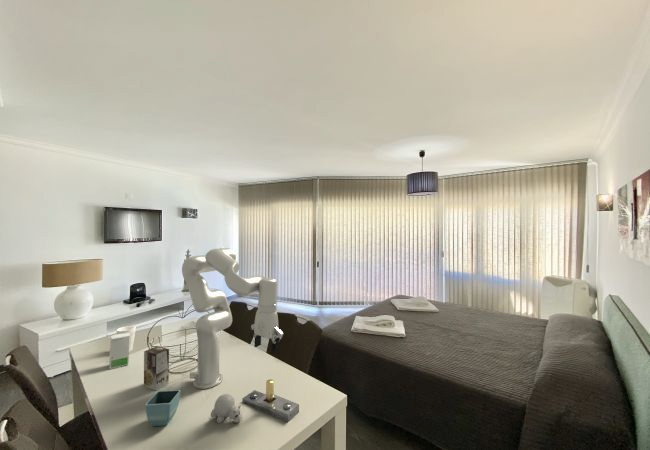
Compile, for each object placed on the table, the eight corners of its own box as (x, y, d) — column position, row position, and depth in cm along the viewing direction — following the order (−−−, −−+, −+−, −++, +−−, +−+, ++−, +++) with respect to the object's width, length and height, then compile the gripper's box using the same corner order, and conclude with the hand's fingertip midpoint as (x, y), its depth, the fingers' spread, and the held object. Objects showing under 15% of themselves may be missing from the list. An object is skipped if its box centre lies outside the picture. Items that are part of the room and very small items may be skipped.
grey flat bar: (242, 401, 113) (242, 393, 113) (254, 393, 119) (254, 385, 119) (287, 422, 100) (287, 412, 101) (299, 411, 106) (299, 402, 107)
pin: (270, 409, 108) (270, 384, 108) (264, 407, 109) (264, 382, 109) (275, 405, 110) (275, 380, 111) (269, 403, 112) (269, 378, 112)
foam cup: (137, 350, 163) (137, 328, 164) (118, 355, 156) (118, 332, 157) (132, 345, 169) (133, 324, 170) (114, 350, 162) (115, 328, 163)
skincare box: (109, 369, 139) (110, 339, 140) (109, 364, 145) (109, 335, 145) (129, 364, 145) (130, 335, 145) (128, 360, 150) (129, 331, 150)
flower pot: (157, 414, 105) (157, 390, 105) (180, 412, 106) (181, 389, 106) (143, 430, 96) (144, 404, 97) (169, 429, 97) (170, 403, 97)
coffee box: (169, 383, 126) (169, 348, 127) (155, 391, 120) (156, 354, 121) (156, 379, 130) (157, 345, 131) (142, 386, 124) (143, 350, 125)
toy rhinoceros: (230, 436, 97) (238, 416, 96) (206, 416, 101) (213, 397, 100) (243, 423, 104) (250, 404, 103) (220, 405, 108) (226, 386, 107)
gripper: (246, 306, 115) (244, 347, 115) (276, 314, 106) (275, 358, 106) (259, 302, 122) (257, 341, 121) (289, 309, 113) (287, 351, 112)
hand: (266, 349), depth 114 cm, fingers open, 9 cm apart
